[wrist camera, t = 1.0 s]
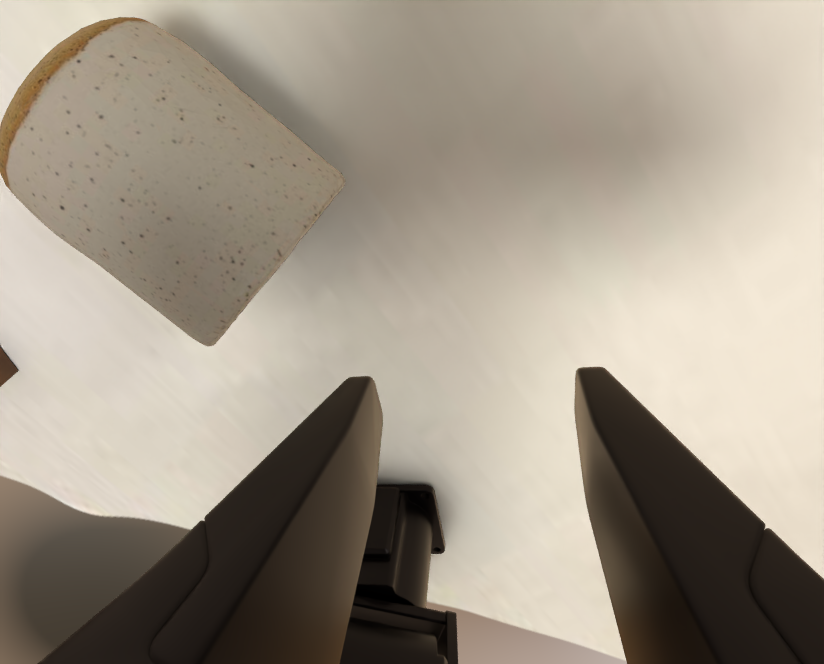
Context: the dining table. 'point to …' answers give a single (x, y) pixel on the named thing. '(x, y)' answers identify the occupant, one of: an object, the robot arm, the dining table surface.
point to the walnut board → (6, 368)
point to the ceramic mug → (161, 171)
